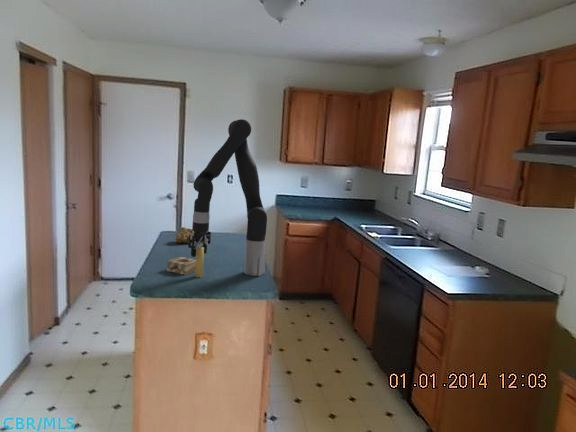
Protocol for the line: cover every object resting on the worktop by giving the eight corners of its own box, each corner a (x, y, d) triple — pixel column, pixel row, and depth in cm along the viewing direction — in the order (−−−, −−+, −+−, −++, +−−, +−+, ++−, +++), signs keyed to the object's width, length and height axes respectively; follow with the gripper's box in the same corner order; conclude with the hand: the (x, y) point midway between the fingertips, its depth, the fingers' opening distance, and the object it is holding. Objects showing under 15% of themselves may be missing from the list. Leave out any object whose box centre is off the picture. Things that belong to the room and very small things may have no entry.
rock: (180, 240, 279) (180, 224, 277) (196, 242, 277) (196, 226, 276) (172, 244, 267) (173, 228, 265) (189, 246, 266) (189, 229, 264)
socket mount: (198, 270, 220) (198, 260, 219) (181, 276, 208) (181, 266, 207) (179, 266, 224) (180, 256, 223) (162, 272, 212) (162, 262, 211)
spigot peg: (204, 276, 211) (205, 247, 209) (199, 278, 208) (201, 248, 206) (197, 274, 213) (199, 246, 211) (193, 276, 210) (194, 247, 207)
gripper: (198, 224, 198) (196, 259, 201) (216, 220, 211) (214, 253, 214) (184, 221, 201) (182, 256, 204) (203, 218, 214) (201, 250, 217)
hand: (198, 254), depth 209 cm, fingers open, 8 cm apart
